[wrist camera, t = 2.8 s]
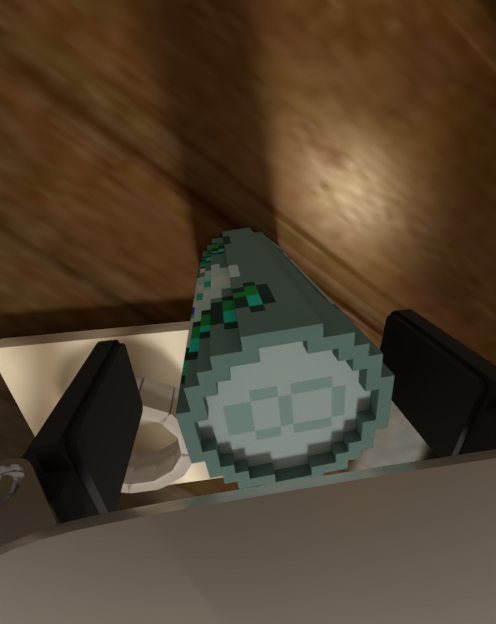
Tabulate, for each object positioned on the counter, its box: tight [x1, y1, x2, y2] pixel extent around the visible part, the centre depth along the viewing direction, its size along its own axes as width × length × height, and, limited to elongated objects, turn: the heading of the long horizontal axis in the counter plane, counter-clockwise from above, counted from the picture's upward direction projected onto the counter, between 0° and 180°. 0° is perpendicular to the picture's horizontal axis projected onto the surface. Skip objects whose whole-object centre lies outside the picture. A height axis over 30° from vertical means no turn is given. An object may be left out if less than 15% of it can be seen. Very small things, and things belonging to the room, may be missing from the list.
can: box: [175, 227, 395, 489], centre depth 15 cm, size 6×6×15 cm
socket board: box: [0, 321, 223, 493], centre depth 24 cm, size 18×18×4 cm
